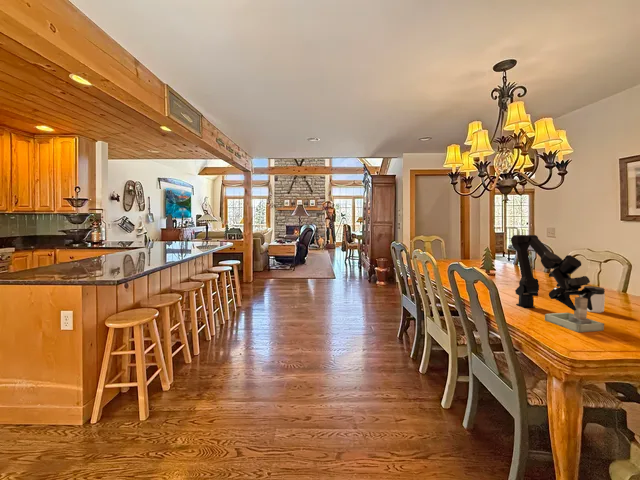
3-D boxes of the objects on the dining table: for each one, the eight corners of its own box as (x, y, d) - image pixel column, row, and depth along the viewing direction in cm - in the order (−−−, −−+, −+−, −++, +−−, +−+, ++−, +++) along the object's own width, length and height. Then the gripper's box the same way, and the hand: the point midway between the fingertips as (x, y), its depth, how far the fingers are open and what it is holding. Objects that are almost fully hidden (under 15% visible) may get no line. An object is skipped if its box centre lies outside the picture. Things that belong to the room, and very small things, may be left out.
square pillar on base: (568, 323, 142) (570, 296, 141) (578, 323, 142) (580, 296, 141) (580, 328, 136) (581, 299, 135) (591, 328, 136) (593, 299, 135)
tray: (544, 320, 148) (545, 314, 148) (567, 318, 151) (568, 312, 151) (578, 332, 133) (578, 325, 133) (603, 330, 135) (604, 323, 135)
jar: (599, 313, 159) (601, 290, 158) (579, 309, 165) (581, 287, 164) (605, 311, 163) (607, 288, 163) (586, 307, 170) (587, 285, 169)
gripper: (555, 269, 140) (575, 300, 130) (594, 269, 142) (617, 300, 131) (540, 283, 149) (558, 313, 139) (578, 283, 150) (598, 313, 140)
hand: (583, 310), depth 137 cm, fingers open, 7 cm apart
